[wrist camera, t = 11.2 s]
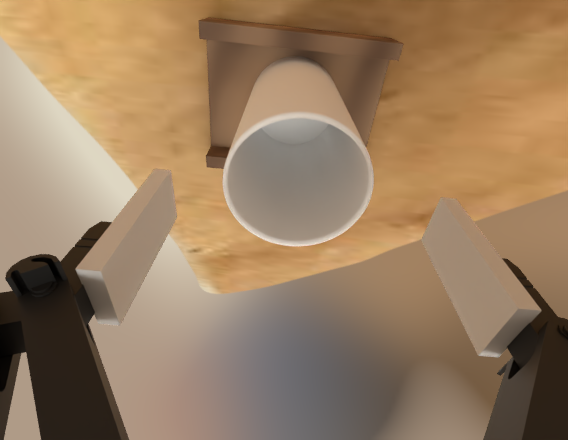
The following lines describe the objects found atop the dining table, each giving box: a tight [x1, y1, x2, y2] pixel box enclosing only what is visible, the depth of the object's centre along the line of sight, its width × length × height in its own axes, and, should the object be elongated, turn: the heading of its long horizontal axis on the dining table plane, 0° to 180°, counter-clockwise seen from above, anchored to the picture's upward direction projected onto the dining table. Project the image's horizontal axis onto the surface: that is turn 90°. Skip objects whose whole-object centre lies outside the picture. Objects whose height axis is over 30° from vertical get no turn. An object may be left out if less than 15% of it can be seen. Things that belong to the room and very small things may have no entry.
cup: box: [223, 57, 374, 246], centre depth 23 cm, size 8×8×16 cm
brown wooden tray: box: [199, 18, 403, 169], centre depth 29 cm, size 16×12×4 cm
